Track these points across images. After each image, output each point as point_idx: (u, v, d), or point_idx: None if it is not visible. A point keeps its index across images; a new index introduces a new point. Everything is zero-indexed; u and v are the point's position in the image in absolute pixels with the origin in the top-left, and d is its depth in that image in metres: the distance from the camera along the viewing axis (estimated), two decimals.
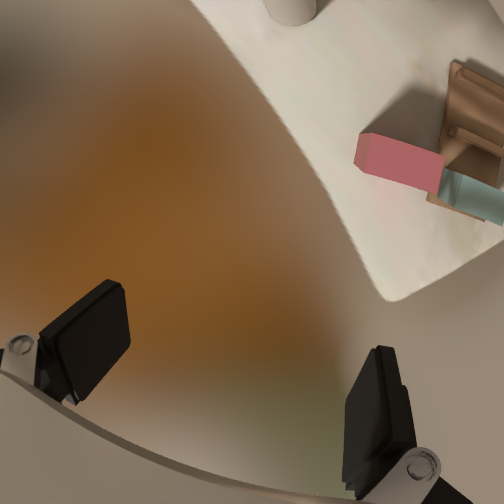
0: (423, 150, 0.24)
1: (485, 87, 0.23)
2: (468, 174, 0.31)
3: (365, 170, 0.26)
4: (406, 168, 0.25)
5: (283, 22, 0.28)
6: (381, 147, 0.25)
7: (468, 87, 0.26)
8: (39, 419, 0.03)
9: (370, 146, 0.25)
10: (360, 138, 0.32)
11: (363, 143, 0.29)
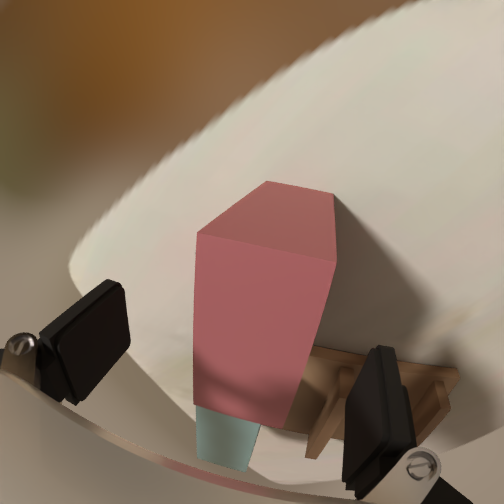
0: (290, 393, 0.10)
1: (416, 431, 0.17)
2: None
3: (204, 237, 0.09)
4: (234, 354, 0.10)
5: None
6: (288, 290, 0.09)
7: (417, 398, 0.19)
8: (39, 419, 0.03)
9: (287, 255, 0.08)
10: (321, 198, 0.15)
11: (306, 212, 0.12)
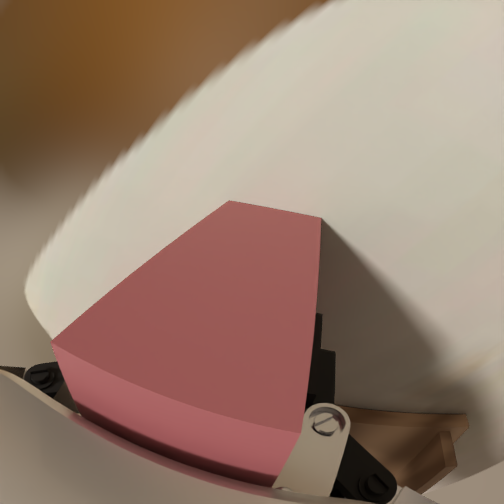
0: None
1: (416, 485, 0.13)
2: None
3: (61, 352, 0.04)
4: None
5: None
6: (211, 450, 0.04)
7: (419, 448, 0.15)
8: (39, 419, 0.03)
9: (197, 410, 0.03)
10: (303, 229, 0.10)
11: (271, 266, 0.07)
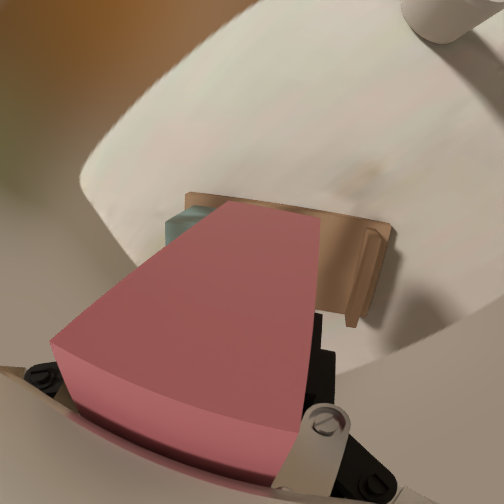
0: None
1: (360, 274, 0.25)
2: None
3: (59, 351, 0.04)
4: None
5: None
6: (209, 450, 0.04)
7: (357, 248, 0.27)
8: (39, 419, 0.03)
9: (195, 410, 0.03)
10: (302, 229, 0.10)
11: (270, 266, 0.07)
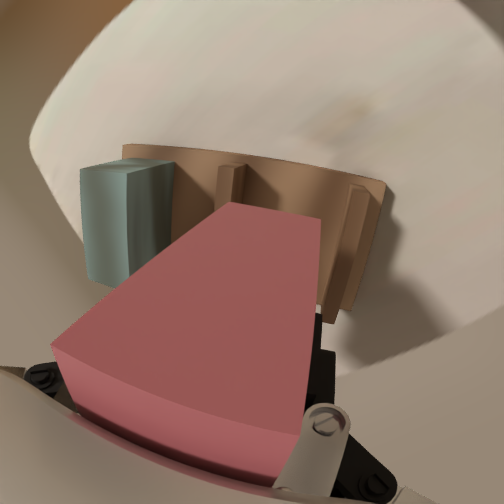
0: None
1: (339, 246, 0.18)
2: (176, 212, 0.22)
3: (61, 354, 0.04)
4: None
5: None
6: (210, 452, 0.04)
7: (338, 213, 0.20)
8: (39, 419, 0.03)
9: (196, 413, 0.03)
10: (302, 230, 0.10)
11: (270, 268, 0.07)
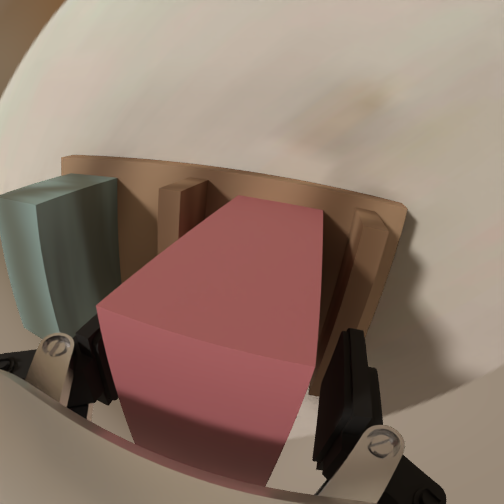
0: None
1: (339, 304, 0.12)
2: (123, 244, 0.17)
3: (106, 314, 0.05)
4: (179, 447, 0.06)
5: None
6: (237, 396, 0.05)
7: (338, 250, 0.14)
8: (39, 419, 0.03)
9: (229, 352, 0.05)
10: (307, 219, 0.12)
11: (281, 248, 0.09)
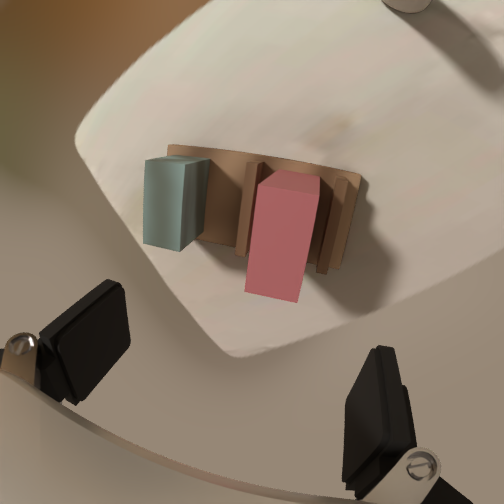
0: (301, 272, 0.21)
1: (328, 217, 0.26)
2: (210, 196, 0.31)
3: (261, 187, 0.19)
4: (272, 248, 0.21)
5: None
6: (298, 209, 0.19)
7: (327, 196, 0.28)
8: (39, 419, 0.03)
9: (298, 193, 0.19)
10: (312, 177, 0.26)
11: (304, 182, 0.23)
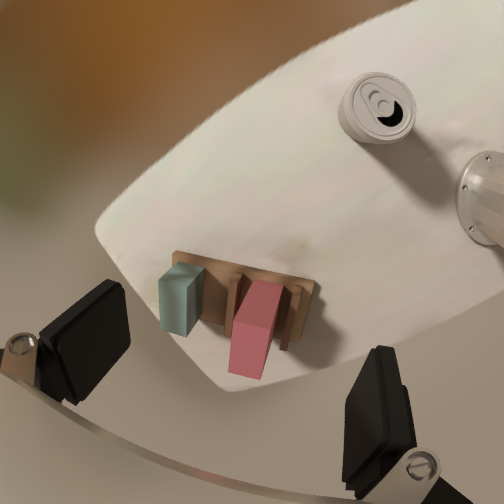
0: (261, 365, 0.33)
1: (287, 317, 0.38)
2: (205, 292, 0.43)
3: (235, 322, 0.31)
4: (243, 352, 0.32)
5: None
6: (258, 335, 0.31)
7: (289, 297, 0.40)
8: (39, 419, 0.03)
9: (257, 327, 0.31)
10: (276, 291, 0.38)
11: (267, 304, 0.35)
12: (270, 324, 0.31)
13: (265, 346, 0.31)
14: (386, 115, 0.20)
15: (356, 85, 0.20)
